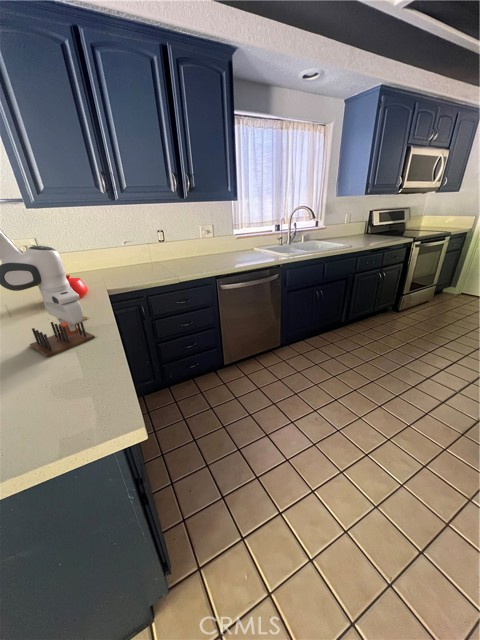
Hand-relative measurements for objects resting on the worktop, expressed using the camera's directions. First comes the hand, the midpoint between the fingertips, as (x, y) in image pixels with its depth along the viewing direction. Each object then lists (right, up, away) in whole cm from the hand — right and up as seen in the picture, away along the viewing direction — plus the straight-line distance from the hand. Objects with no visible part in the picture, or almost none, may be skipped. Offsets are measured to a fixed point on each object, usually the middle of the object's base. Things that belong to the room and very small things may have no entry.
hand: (68, 329), depth 98 cm
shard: (-7, +2, +16) cm, 17 cm away
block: (0, -1, +1) cm, 2 cm away
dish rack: (-2, -5, -1) cm, 5 cm away
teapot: (-27, +15, +46) cm, 56 cm away
